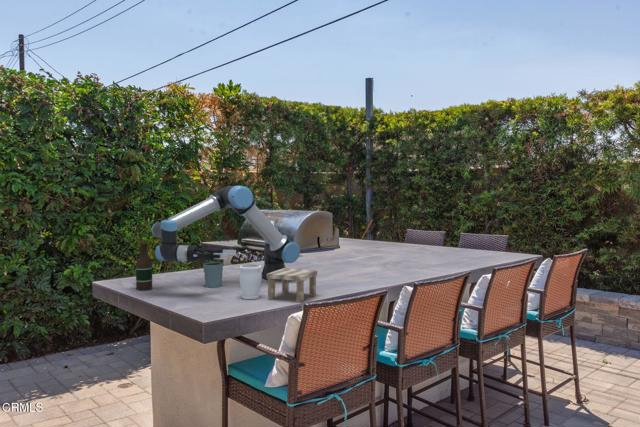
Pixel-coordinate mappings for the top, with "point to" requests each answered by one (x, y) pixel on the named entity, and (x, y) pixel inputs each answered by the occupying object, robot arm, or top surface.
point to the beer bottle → (143, 269)
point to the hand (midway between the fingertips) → (231, 254)
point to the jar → (250, 281)
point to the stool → (292, 274)
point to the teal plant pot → (213, 274)
